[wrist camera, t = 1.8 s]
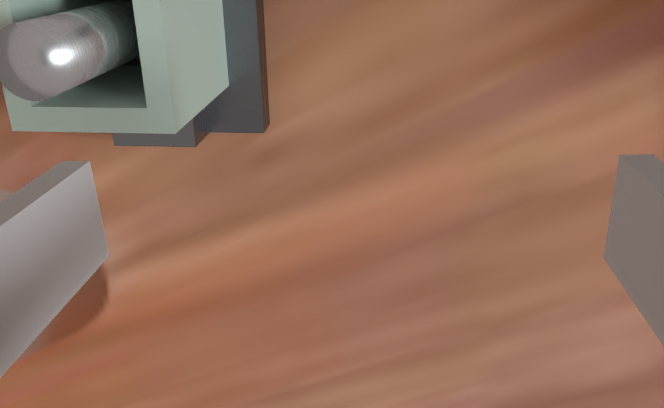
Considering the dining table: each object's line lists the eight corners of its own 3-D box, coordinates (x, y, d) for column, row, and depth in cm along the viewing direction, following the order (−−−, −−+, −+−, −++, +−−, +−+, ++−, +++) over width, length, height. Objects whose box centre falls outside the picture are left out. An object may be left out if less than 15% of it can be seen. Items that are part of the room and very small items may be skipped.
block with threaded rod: (55, -110, 36) (-180, -142, 21) (256, -114, 35) (155, -151, 20) (95, 121, 41) (-68, 222, 27) (269, 124, 40) (198, 231, 26)
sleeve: (81, -54, 35) (-30, -51, 26) (217, -56, 34) (153, -53, 25) (104, 84, 38) (12, 131, 29) (229, 85, 37) (175, 133, 28)
